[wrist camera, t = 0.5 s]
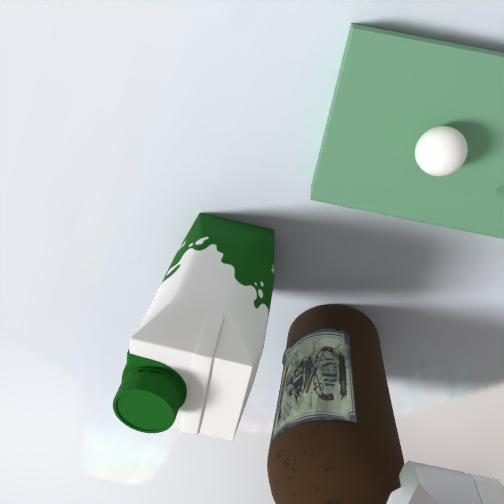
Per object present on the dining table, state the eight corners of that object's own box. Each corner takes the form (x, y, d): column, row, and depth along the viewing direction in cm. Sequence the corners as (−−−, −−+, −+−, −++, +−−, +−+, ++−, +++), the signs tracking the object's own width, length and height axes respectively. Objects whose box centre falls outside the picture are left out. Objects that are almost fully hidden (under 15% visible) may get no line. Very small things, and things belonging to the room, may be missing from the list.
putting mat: (311, 184, 42) (310, 199, 39) (351, 23, 35) (353, 28, 32) (563, 235, 41) (579, 253, 39) (654, 81, 34) (681, 91, 32)
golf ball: (420, 115, 35) (429, 130, 32) (468, 124, 35) (481, 140, 32) (404, 160, 37) (411, 178, 34) (450, 169, 37) (461, 188, 34)
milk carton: (191, 201, 44) (108, 352, 27) (287, 223, 44) (262, 389, 27) (181, 277, 49) (104, 446, 32) (267, 297, 49) (236, 477, 32)
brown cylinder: (400, 358, 51) (453, 644, 30) (310, 386, 55) (301, 656, 34) (358, 283, 47) (384, 554, 26) (264, 319, 51) (219, 580, 29)
